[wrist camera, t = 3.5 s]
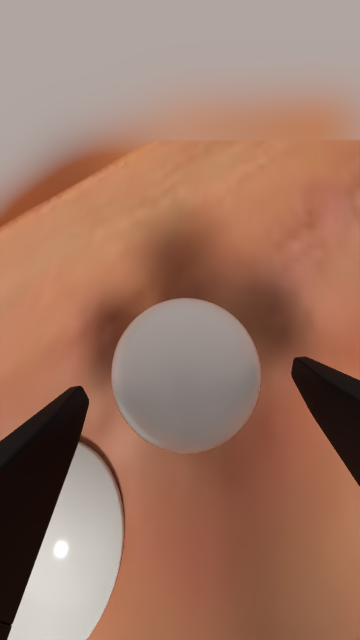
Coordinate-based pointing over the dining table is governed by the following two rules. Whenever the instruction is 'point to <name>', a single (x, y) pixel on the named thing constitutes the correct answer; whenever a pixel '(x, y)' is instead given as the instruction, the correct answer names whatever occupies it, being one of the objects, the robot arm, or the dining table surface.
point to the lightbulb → (186, 375)
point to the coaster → (75, 556)
